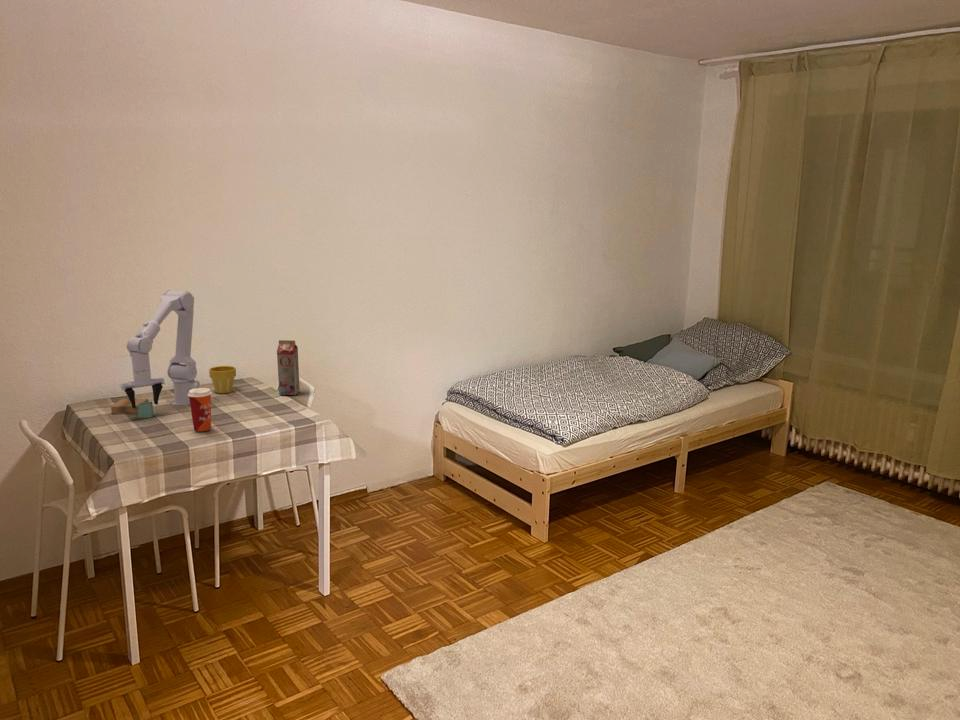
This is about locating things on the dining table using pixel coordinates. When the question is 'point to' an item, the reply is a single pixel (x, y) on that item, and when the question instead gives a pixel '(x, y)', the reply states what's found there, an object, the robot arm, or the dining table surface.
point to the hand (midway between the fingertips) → (145, 405)
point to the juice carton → (288, 367)
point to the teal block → (145, 409)
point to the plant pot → (222, 378)
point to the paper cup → (200, 408)
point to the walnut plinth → (126, 406)
